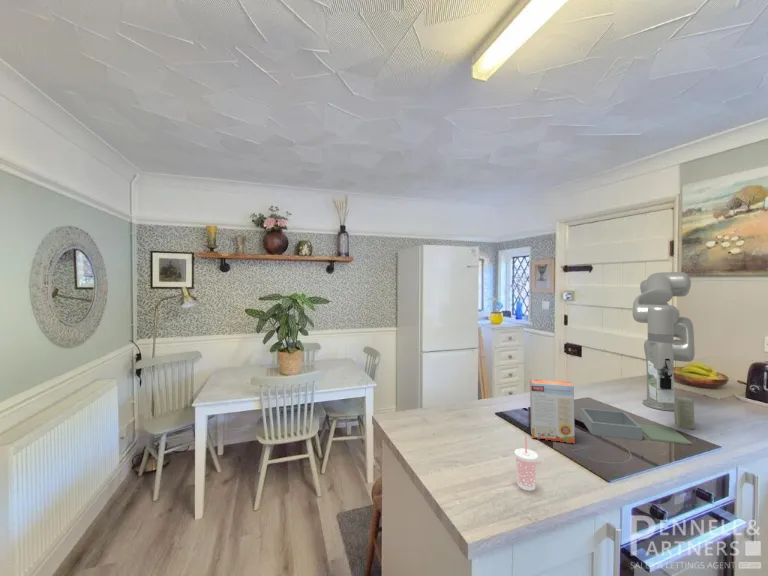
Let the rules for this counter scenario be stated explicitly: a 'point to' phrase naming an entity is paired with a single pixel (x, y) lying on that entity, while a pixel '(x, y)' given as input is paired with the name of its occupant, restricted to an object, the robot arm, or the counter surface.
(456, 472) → the counter surface
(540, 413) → the cracker box
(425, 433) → the counter surface
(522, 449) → the beverage cup
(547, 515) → the counter surface
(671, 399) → the syrup box
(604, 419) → the parts bin
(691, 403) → the box
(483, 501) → the counter surface
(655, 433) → the mat
